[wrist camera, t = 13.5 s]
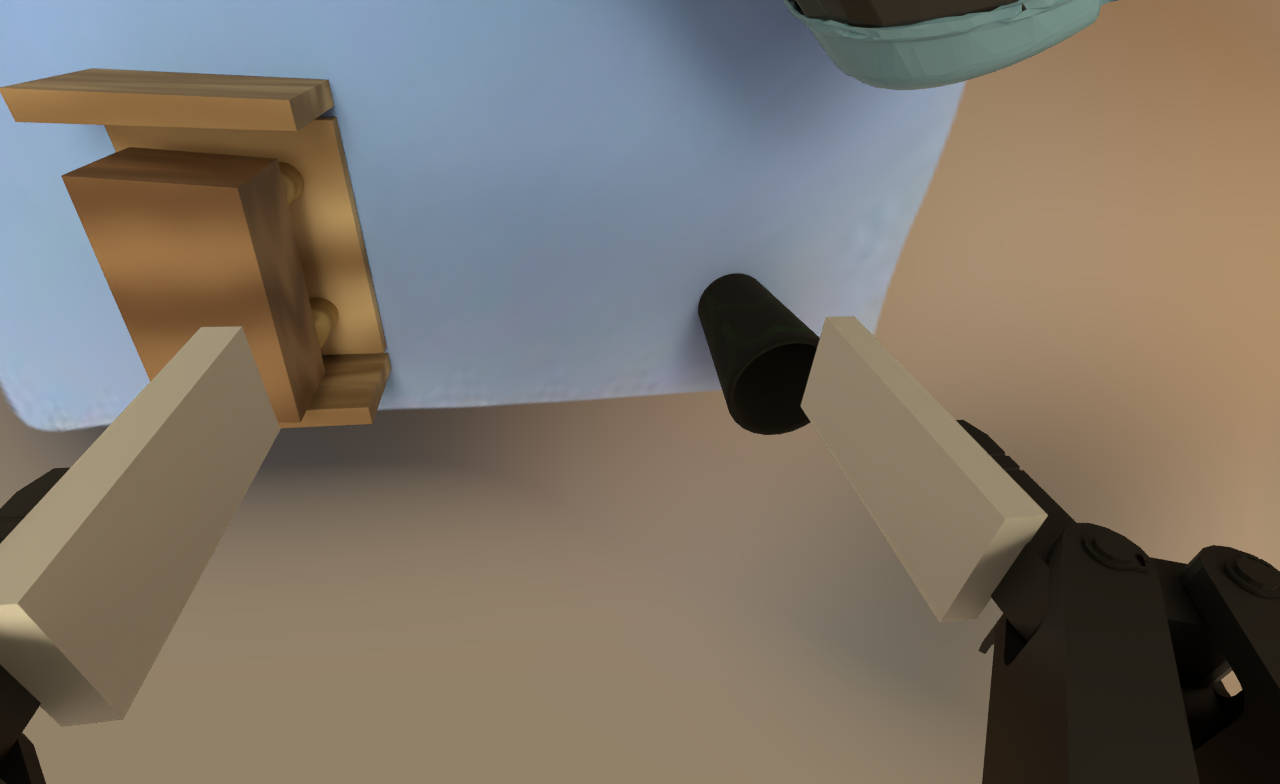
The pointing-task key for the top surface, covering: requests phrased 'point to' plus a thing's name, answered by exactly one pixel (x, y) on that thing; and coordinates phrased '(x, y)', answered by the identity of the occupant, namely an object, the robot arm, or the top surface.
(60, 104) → the stand
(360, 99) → the top surface
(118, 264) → the brown wooden block
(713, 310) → the cup
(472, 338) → the top surface
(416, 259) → the top surface
